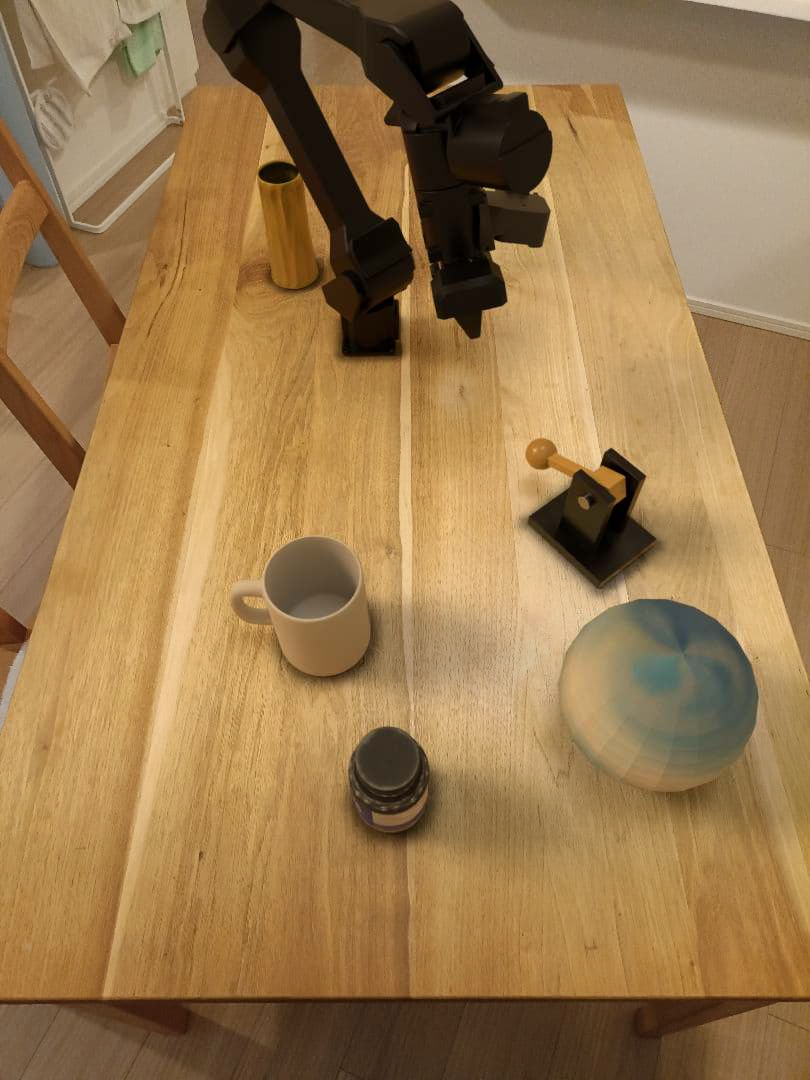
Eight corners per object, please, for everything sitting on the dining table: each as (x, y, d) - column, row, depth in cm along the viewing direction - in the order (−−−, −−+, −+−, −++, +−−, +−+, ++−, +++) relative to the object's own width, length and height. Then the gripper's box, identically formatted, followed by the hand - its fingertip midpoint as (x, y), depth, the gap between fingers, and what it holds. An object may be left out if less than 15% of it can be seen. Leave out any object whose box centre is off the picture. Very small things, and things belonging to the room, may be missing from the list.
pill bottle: (353, 763, 66) (342, 718, 56) (424, 757, 66) (425, 711, 56) (356, 839, 62) (346, 804, 53) (431, 832, 62) (434, 797, 53)
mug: (373, 596, 74) (367, 534, 65) (367, 679, 70) (360, 624, 60) (250, 593, 75) (227, 530, 65) (236, 675, 70) (209, 620, 61)
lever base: (526, 522, 79) (539, 463, 70) (581, 483, 81) (600, 421, 73) (598, 589, 74) (620, 533, 66) (653, 545, 77) (682, 486, 69)
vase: (311, 292, 98) (296, 189, 86) (265, 287, 99) (245, 184, 87) (323, 262, 102) (311, 159, 90) (279, 257, 102) (261, 154, 90)
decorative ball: (724, 828, 62) (802, 776, 50) (539, 796, 64) (569, 737, 51) (716, 660, 70) (782, 578, 58) (552, 635, 72) (581, 550, 59)
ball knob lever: (520, 468, 79) (516, 443, 77) (543, 453, 80) (540, 427, 78) (606, 514, 71) (604, 487, 69) (630, 497, 72) (629, 470, 70)
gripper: (558, 191, 59) (574, 366, 69) (520, 124, 73) (538, 278, 83) (416, 227, 60) (453, 393, 71) (405, 154, 74) (437, 302, 84)
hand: (475, 336), depth 77 cm, fingers closed
